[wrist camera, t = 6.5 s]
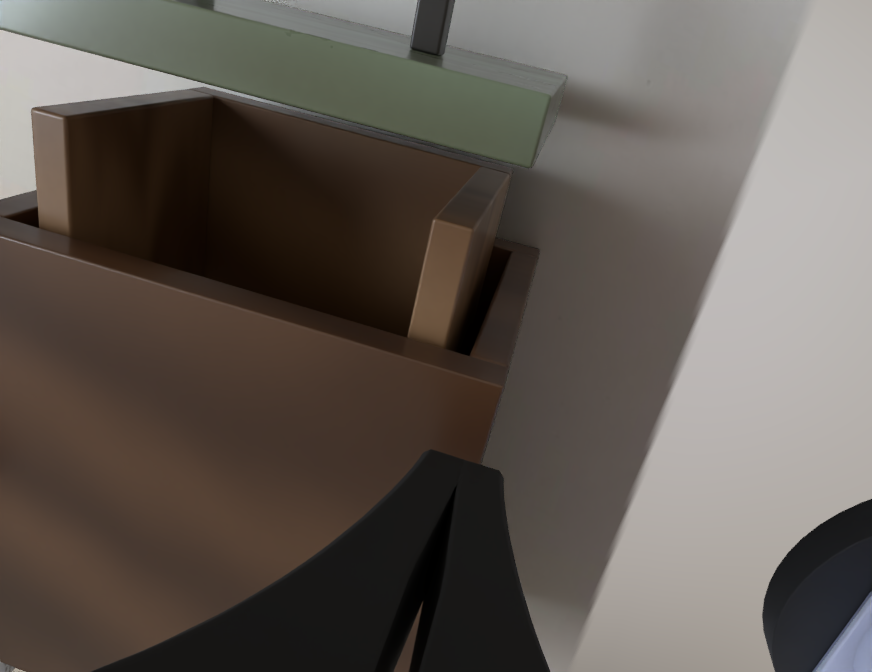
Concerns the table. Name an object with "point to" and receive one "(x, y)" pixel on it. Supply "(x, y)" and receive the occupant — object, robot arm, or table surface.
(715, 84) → the table surface
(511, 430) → the table surface
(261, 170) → the drawer
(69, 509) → the cabinet
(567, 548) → the table surface
